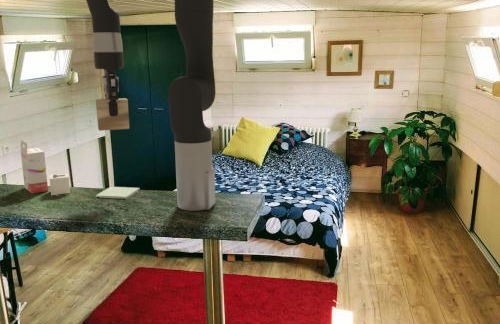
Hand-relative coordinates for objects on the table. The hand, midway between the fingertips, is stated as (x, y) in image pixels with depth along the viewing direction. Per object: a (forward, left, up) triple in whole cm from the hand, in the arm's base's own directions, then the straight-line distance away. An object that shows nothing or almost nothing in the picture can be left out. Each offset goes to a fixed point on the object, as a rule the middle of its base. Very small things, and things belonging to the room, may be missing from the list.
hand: (112, 114), depth 133 cm
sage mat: (0, 0, -22) cm, 22 cm away
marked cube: (+17, +1, -23) cm, 28 cm away
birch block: (0, 0, -4) cm, 4 cm away
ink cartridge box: (+26, -1, -23) cm, 35 cm away
